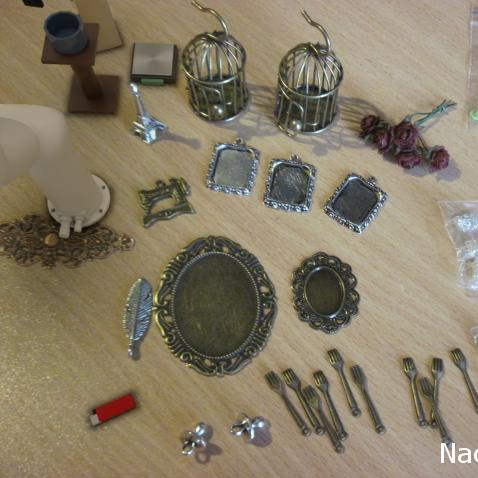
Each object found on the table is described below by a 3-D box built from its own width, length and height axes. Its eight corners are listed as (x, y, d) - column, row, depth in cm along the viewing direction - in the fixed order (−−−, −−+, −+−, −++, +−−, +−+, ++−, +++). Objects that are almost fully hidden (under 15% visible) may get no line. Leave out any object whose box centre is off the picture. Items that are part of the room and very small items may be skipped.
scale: (174, 86, 131) (173, 79, 128) (131, 85, 130) (129, 78, 127) (177, 49, 135) (176, 42, 132) (135, 48, 134) (133, 40, 131)
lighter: (135, 406, 103) (92, 426, 101) (136, 407, 104) (94, 426, 102) (130, 392, 104) (87, 411, 102) (131, 393, 105) (89, 411, 103)
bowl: (86, 56, 110) (79, 40, 106) (49, 54, 109) (41, 38, 105) (90, 28, 113) (83, 11, 108) (54, 26, 112) (46, 9, 108)
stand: (114, 114, 126) (93, 62, 110) (69, 112, 125) (40, 60, 109) (119, 78, 130) (98, 23, 113) (74, 76, 129) (47, 20, 112)
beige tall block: (82, 29, 134) (52, -44, 114) (112, 21, 136) (88, -52, 116) (92, 54, 132) (63, -16, 112) (122, 45, 133) (99, -24, 114)
